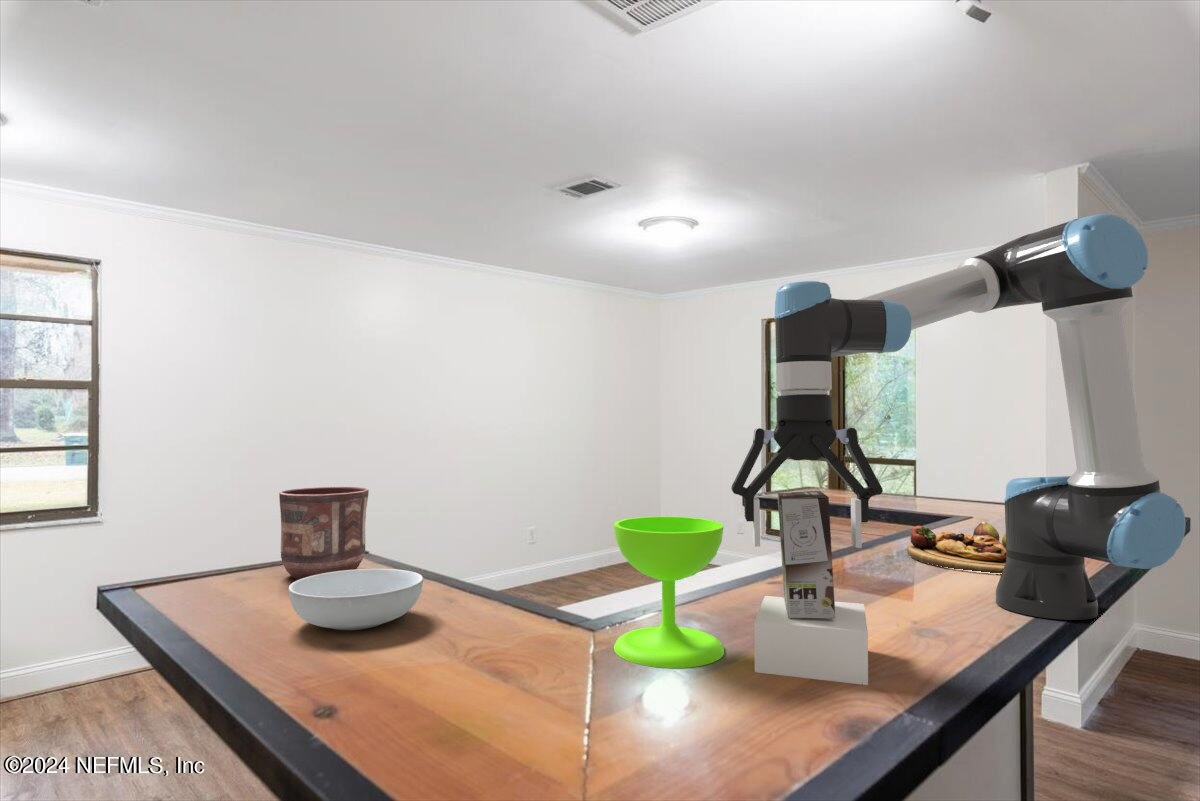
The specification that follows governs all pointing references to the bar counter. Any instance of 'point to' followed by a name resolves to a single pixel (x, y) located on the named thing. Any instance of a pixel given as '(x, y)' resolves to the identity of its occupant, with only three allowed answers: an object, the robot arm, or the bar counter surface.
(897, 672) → the bar counter surface
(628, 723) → the bar counter surface
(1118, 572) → the bar counter surface
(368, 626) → the serving bowl
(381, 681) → the bar counter surface
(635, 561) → the wineglass
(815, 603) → the coffee box
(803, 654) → the plinth block
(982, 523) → the wooden plate with food
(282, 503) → the pottery
